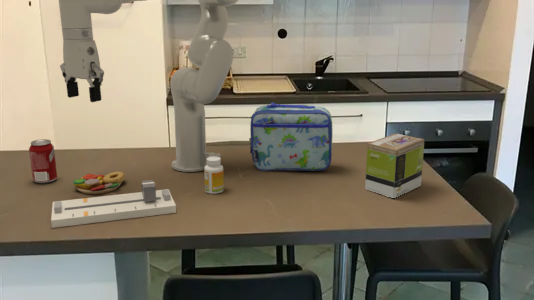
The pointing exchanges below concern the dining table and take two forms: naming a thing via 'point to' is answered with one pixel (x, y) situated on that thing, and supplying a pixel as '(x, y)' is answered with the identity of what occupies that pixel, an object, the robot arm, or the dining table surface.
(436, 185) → the dining table surface
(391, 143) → the tea box
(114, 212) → the console board
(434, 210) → the dining table surface
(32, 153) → the soda can
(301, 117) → the lunch box
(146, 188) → the fader knob
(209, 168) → the supplement bottle
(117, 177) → the toy food set
